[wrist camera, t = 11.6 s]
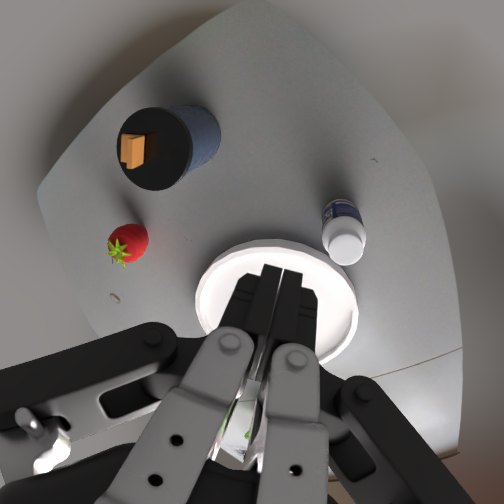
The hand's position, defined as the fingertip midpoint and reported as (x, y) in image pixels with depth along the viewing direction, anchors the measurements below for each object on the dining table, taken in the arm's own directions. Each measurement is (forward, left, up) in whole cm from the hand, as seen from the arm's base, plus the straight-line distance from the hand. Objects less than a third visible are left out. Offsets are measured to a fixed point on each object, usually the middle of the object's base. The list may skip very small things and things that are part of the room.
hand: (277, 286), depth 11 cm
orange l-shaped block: (-1, -18, -18) cm, 25 cm away
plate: (+27, -1, -29) cm, 40 cm away
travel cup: (-1, -16, -29) cm, 33 cm away
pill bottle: (+8, +6, -29) cm, 31 cm away
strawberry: (+15, -25, -29) cm, 41 cm away
